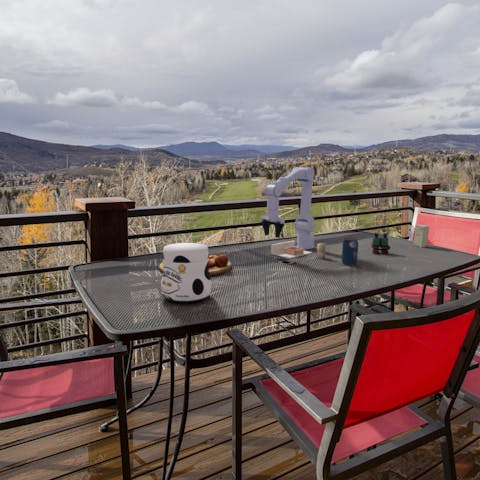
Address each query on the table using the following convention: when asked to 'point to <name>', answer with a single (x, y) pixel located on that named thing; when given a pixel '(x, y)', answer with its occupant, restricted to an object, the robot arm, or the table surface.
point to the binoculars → (380, 244)
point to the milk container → (185, 272)
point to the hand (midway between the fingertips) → (272, 236)
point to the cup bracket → (288, 250)
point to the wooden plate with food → (214, 264)
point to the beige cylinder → (321, 250)
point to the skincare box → (421, 235)
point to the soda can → (350, 251)
